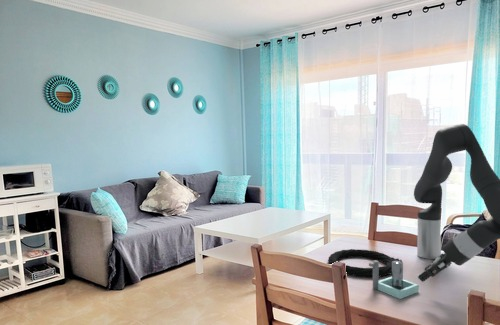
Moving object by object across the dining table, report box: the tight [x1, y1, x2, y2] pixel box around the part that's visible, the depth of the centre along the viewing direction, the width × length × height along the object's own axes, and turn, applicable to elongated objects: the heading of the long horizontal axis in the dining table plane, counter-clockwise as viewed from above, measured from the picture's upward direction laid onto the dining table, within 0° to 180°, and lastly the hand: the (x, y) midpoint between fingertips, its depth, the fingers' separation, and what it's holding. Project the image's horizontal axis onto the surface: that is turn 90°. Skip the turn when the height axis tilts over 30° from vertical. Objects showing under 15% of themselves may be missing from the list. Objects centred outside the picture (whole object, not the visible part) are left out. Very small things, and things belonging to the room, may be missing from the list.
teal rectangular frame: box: [368, 259, 419, 300], centre depth 127 cm, size 13×11×10 cm
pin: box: [390, 261, 404, 290], centre depth 127 cm, size 5×5×10 cm
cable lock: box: [327, 248, 404, 278], centre depth 152 cm, size 28×4×30 cm
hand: (423, 275), depth 121 cm, fingers open, 8 cm apart
